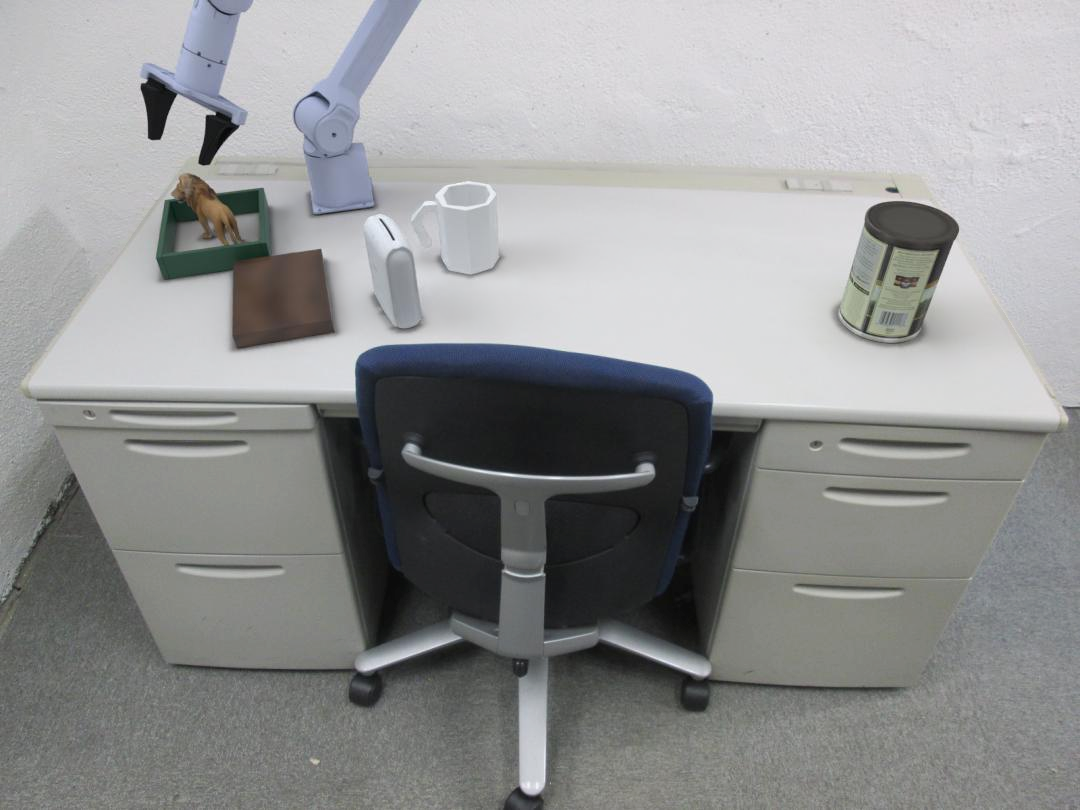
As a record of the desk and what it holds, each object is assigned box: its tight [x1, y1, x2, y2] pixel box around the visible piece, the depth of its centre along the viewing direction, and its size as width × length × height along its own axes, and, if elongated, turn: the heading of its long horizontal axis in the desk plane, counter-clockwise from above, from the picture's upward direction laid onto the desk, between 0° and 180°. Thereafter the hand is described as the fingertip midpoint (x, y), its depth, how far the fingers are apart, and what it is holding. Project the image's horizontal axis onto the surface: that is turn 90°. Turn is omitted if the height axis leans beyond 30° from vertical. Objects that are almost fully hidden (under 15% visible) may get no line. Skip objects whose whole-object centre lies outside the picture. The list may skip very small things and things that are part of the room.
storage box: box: [155, 187, 272, 280], centre depth 116 cm, size 15×18×4 cm
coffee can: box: [837, 200, 960, 344], centre depth 96 cm, size 10×10×14 cm
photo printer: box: [363, 213, 423, 329], centre depth 100 cm, size 10×4×12 cm, turn 26°
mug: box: [410, 180, 500, 276], centre depth 110 cm, size 12×9×10 cm
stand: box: [231, 248, 335, 349], centre depth 104 cm, size 12×18×2 cm, turn 16°
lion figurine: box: [170, 172, 246, 246], centre depth 114 cm, size 15×5×9 cm, turn 50°
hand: (179, 151), depth 109 cm, fingers open, 7 cm apart
